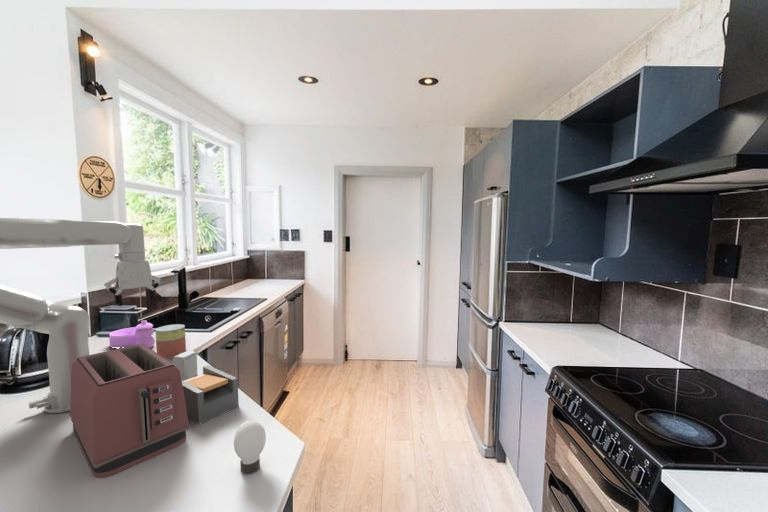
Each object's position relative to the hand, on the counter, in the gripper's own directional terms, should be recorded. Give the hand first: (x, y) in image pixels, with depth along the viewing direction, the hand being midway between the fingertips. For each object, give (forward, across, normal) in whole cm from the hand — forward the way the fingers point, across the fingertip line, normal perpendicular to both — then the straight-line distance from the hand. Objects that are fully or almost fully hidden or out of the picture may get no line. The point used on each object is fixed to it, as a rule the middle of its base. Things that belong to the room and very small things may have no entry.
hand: (135, 303), depth 123 cm
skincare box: (+28, +6, -24) cm, 38 cm away
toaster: (+29, -16, -41) cm, 53 cm away
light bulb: (+28, -5, -79) cm, 84 cm away
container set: (+29, +13, +45) cm, 55 cm away
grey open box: (+28, +3, -42) cm, 51 cm away
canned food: (+29, +18, +17) cm, 38 cm away
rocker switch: (+23, +3, -42) cm, 48 cm away
